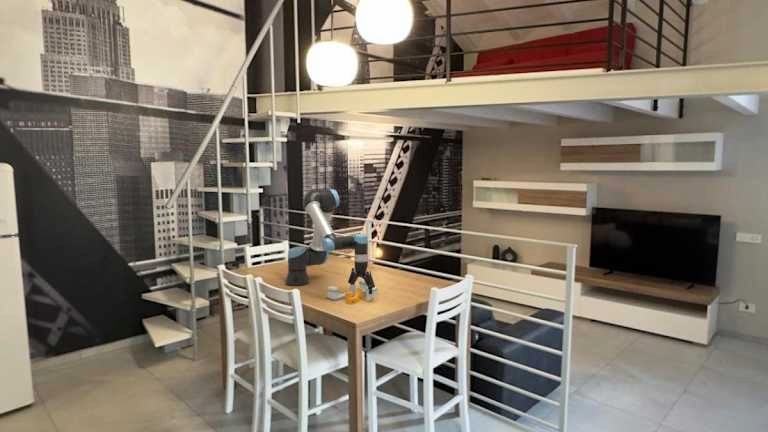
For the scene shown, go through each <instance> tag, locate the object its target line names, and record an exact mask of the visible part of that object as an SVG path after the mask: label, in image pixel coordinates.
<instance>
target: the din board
mask: <svg viewBox="0 0 768 432" xmlns="http://www.w3.org/2000/svg"><path fill="white" fill-rule="evenodd" d="M348 292H351V290H350V291H348ZM356 292H357V289H356ZM363 295H366V291H364V290H363ZM354 296H355V295H354ZM354 296H352V297H354ZM326 299H327V300H331V301H334V302H337V301H341V300H344V299H345V292H342V293H341V292H340V293H338V298H336V299H332V298H329V297H328V296H326Z"/></svg>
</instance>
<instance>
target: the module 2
mask: <svg viewBox="0 0 768 432" xmlns="http://www.w3.org/2000/svg"><path fill="white" fill-rule="evenodd" d="M358 281H359V282H358V284H359V285H358V288H360V289H363V290H364V291H366V288H368V286H367V285H366V283H365V281H364V279H363V278H361V279H358Z"/></svg>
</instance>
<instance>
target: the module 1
mask: <svg viewBox="0 0 768 432" xmlns="http://www.w3.org/2000/svg"><path fill="white" fill-rule="evenodd" d="M326 291H327V297H329V298H332V299H336V298H338V294H339V287H336V286H332V285H331V286H330V285H329V286H327V290H326Z"/></svg>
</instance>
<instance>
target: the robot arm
mask: <svg viewBox="0 0 768 432" xmlns="http://www.w3.org/2000/svg"><path fill="white" fill-rule="evenodd" d="M302 205H303V208H304V210H305V212H306V213H307V214H308V215H309V216H310V218H311V220H312V222H313V224H314V230H313V236H312V242H310V243H309V245H308V248H306V246H301V245H300V246H296V247H292V248H289V250H288V251H287V263H288V264H287V266H288V267H287V275H286V279H285V284H286V285H288V286H295V287H296V286H305V285H309V283H310V277H309V274H308V273H307V267H312V266H321V265H324V264H326V263H327V262H328V261H329V256H330V255H329V254H330V253H329V252H336V251H343V250H354V254H353V255H354V267H352V268H351V272H350V275H349V278H348V280H347V283H348V284H350V291H351V295H352V296H354V295H356V290H357V288H356V282H357V281H358V280H359V278H361V279H364V281H365V283H366V285H367V286H368V289H367V296H366V298H367V301H371V300H373V298H372V288H374V287H376V285H375V282H374V279H373V276H372V271H371V270H367V269H368V266H369V264H368V263H369V262H368V261H369V258H368V256H369V255H368V251H369V250H368V244H369V242H368V241H369V240H368V235H367V234H365V233H356V234H354V235H345V236H339V237H338V236H337V235H336V234H335V232H334V230H333V229H332V227H331V225H330V219H331V215H332V213H334V211H335V208H337V207H339V206H340V196H339V194H338V191H337V190H336V189H332V188H327V189H325V188H324V189H321V188H320V189H317V188H316V189H315V188H314V189H311V190H309V191H307V192H306V194H305V195H304V197H303V200H302Z"/></svg>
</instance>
